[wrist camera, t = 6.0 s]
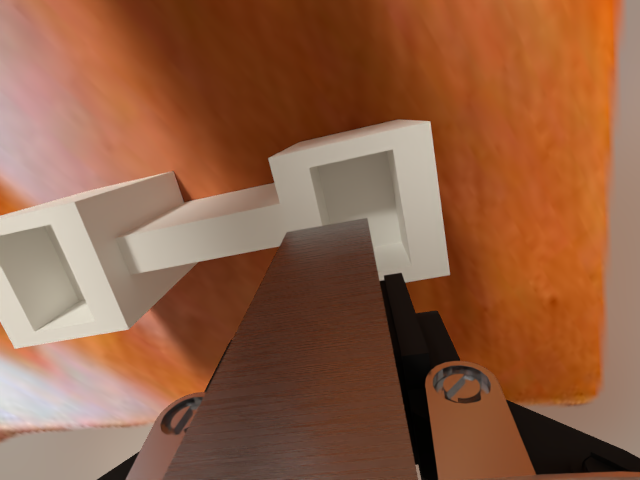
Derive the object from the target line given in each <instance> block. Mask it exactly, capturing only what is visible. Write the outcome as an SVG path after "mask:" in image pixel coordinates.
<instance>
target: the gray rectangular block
mask: <svg viewBox="0 0 640 480" xmlns="http://www.w3.org/2000/svg"><path fill="white" fill-rule="evenodd" d="M162 480H418V478H417V472H416V467H415V461H414V456H413V451H412V446H411V441H410V436H409V431H408V425H407V420H406V415H405V410H404V405H403V400H402V395H401V389H400V384H399V379H398V374H397V369H396V364H395V358H394V353H393V348H392V343H391V338H390V333H389V328H388V322H387V317H386V312H385V307H384V302H383V297H382V291H381V286H380V281H379V276H378V271H377V266H376V261H375V255H374V250H373V245H372V240H371V235H370V230H369V225H368V219H367V218H364V219H358V220H352V221H346V222H341V223H335V224H329V225H324V226H318V227H312V228H307V229H301V230H295V231H290V232H287V233H286V235H285V237H284V239H283V241H282V243H281V245H280V246H279V248H278V250H277V252H276V254H275V256H274V258H273V260H272V262H271V264H270V266H269V268H268V270H267V272H266V274H265V276H264V278H263V280H262V282H261V284H260V286H259V288H258V290H257V292H256V294H255V296H254V298H253V300H252V302H251V304H250V306H249V308H248V310H247V312H246V314H245V316H244V318H243V320H242V322H241V324H240V326H239V328H238V330H237V332H236V334H235V336H234V338H233V340H232V342H231V344H230V346H229V348H228V350H227V352H226V354H225V356H224V358H223V360H222V362H221V364H220V366H219V368H218V370H217V372H216V374H215V376H214V378H213V380H212V382H211V384H210V386H209V388H208V390H207V392H206V394H205V396H204V398H203V400H202V402H201V404H200V406H199V408H198V410H197V412H196V414H195V416H194V418H193V420H192V422H191V423H190V425H189V427H188V429H187V431H186V433H185V435H184V437H183V439H182V441H181V443H180V445H179V447H178V449H177V451H176V453H175V455H174V457H173V459H172V461H171V463H170V465H169V467H168V469H167V471H166V473H165V475H164V477H163V479H162Z"/></svg>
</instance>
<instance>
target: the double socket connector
mask: <svg viewBox="0 0 640 480" xmlns="http://www.w3.org/2000/svg"><path fill="white" fill-rule="evenodd" d="M268 160H269V164H270V167H271V171H272V175H273V179H274V183H271V184H266V185H262V186H257V187H253V188H248V189H243V190H239V191H234V192H229V193H225V194H220V195H216V196H211V197H206V198H202V199H197V200H193V201H188V202H184V201H183V198H182V195H181V192H180V189H179V186H178V183H177V180H176V177H175V174H174V171H172V172H167V173H163V174H159V175H154V176H150V177H146V178H141V179H137V180H133V181H128V182H124V183H120V184H115V185H111V186H107V187H102V188H98V189H94V190H89V191H86V192H82V193H79V194H75V195H72V196H68V197H65V198H61V199H58V200H54V201H51V202H47V203H44V204H40V205H37V206H33V207H30V208H26V209H23V210H19V211H16V212H12V213H9V214H5V215H2V216H0V322H1V324H2V326H3V327H4V329H5V331H6V333H7V335H8V337H9V339H10V340H11V342H12V344H13V346H14V348H15V349H16V348H22V347H27V346H33V345H39V344H45V343H51V342H57V341H63V340H69V339H75V338H81V337H87V336H92V335H98V334H104V333H110V332H116V331H122V330H128V329H130V328H131V327H132V326H133V325H134V324H135V323H136V322H137V321H138V320H139V319H140V318H141V317H142V316H143V315H144V314H145V313H146V312H147V311H148V310H149V309H150V308H151V307H152V306H154V305H155V304H156V303H157V302H158V301H159V300H160V299H161V298H162V297H163V296H164V295H165V294H166V293H167V292H168V291H169V290H170V289H171V288H172V287H173V286H174V285H175V284H176V283H177V282H178V281H179V280H180V279H181V278H182V277H184V276H185V275H186V274H187V273H188V272H189V271H190V270H191V269H192V268H193V267H194V266H195V265H196V264H197V263H198V262H200V261H205V260H211V259H216V258H221V257H226V256H232V255H237V254H242V253H247V252H252V251H258V250H263V249H268V248H273V247H279V246H280V245H281V243H282V241H283V239H284V237H285V235H286V233H287V232H290V231H295V230H301V229H307V228H312V227H318V226H324V225H329V224H335V223H341V222H346V221H352V220H358V219H364V218H367V219H368V225H369V230H370V235H371V240H372V245H373V250H374V255H375V261H376V266H377V271H378V276H379V281H382V280H384V275H390V274H396V273H402V275H403V278H404V281H405V283H406V282H412V281H418V280H424V279H429V278H435V277H441V276H447V275H450V270H449V262H448V254H447V247H446V239H445V231H444V224H443V216H442V208H441V200H440V193H439V185H438V177H437V170H436V162H435V154H434V146H433V139H432V131H431V123H430V121H417V120H401V119H398V120H393V121H389V122H385V123H380V124H376V125H372V126H367V127H363V128H359V129H354V130H350V131H346V132H341V133H337V134H333V135H328V136H324V137H320V138H315V139H311V140H306V141H302V142H298V143H296V144H294V145H293V146H291V147H289V148H287V149H285V150H283V151H281V152H279V153H277V154H275V155H273V156H271V157H269V158H268Z"/></svg>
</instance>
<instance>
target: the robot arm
mask: <svg viewBox="0 0 640 480" xmlns="http://www.w3.org/2000/svg"><path fill="white" fill-rule="evenodd" d="M380 286H381V291H382V297H383V302H384V307H385V312H386V317H387V322H388V328H389V333H390V338H391V343H392V348H393V353H394V358H395V364H396V369H397V374H398V379H399V384H400V389H401V395H402V400H403V405H404V410H405V415H406V420H407V425H408V431H409V436H410V441H411V446H412V451H413V456H414V461H415V465H417V464H418V465H419V470H420V475H421V480H640V458H638V457H636V456H635V455H632V454H631V453H629V452H627V451H625V450H623V449H620V448H618V447H616V446H614V445H611V444H609V443H607V442H604V441H601V440H599V439H597V438H595V437H592V436H590V435H588V434H585V433H583V432H581V431H578V430H576V429H573V428H571V427H569V426H567V425H564V424H562V423H560V422H557V421H555V420H553V419H550V418H548V417H546V416H543V415H541V414H539V413H536V412H534V411H531V410H529V409H527V408H524V407H522V406H520V405H517V404H515V403H513V402H510V401H508V400H506V399H505V397H504V394H503V392H502V389H501V387H500V384H499V382H498V380H497V379H496V377H495V376H494V374H493V373H492V372H490V371H489V370H488V369H487V368H485V367H483V366H480V365H478V364H476V363H471V362H467V361H460V359H459V356H458V354H457V352H456V350H455V348H454V346H453V343H452V341H451V339H450V337H449V335H448V332H447V330H446V328H445V326H444V324H443V321H442V319H441V317H440V315H439V313H438V311H430V312H423V313H415V310H414V308H413V305H412V302H411V299H410V296H409V293H408V290H407V287H406V284H405V281H404V278H403V275H402V273H396V274H390V275H384V280H382V281H380ZM231 342H232V340H231V341H230V343H229V344H228V346H227V348H226V350H225V352H224V354H223V356H222V358H221V360H220V362H219V364H218V366H217V368H216V370H215V372H214V374H213V376H212V378H211V380H210V382H209V384H208V386H207V388H206V390H205V392H200V393H193V394H190V395H186V396H184V397H182V398H180V399H178V400H176V401H175V402H173V403H172V404H170V405H169V406H168V407H167V408H166V409H164V410H163V411H162V412H161V414H160V415H159V416H158V418H157V419H156V421H155V423H154V425H153V427H152V429H151V431H150V433H149V435H148V437H147V439H146V441H145V442H144V445H143V446H142V448H141V450H140V452H138V453H136V454H135V455H134V456H132V457H130V458H129V459H127V460H126V461H124V462H123V463H122V464H120V465H118V466H117V467H115V468H114V469H112V470H111V471H109V472H108V473H107V474H105V475H103V476H102V477H100V478H99V479H97V480H162V479H163V477H164V475H165V473H166V471H167V469H168V467H169V465H170V463H171V461H172V459H173V457H174V455H175V453H176V451H177V449H178V447H179V445H180V443H181V441H182V439H183V437H184V435H185V433H186V431H187V429H188V427H189V425H190V423H191V422H192V420H193V418H194V416H195V414H196V412H197V410H198V408H199V406H200V404H201V402H202V400H203V398H204V396H205V394H206V392H207V390H208V388H209V386H210V384H211V382H212V380H213V378H214V376H215V374H216V372H217V370H218V368H219V366H220V364H221V362H222V360H223V358H224V356H225V354H226V352H227V350H228V348H229V346H230V344H231Z"/></svg>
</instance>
